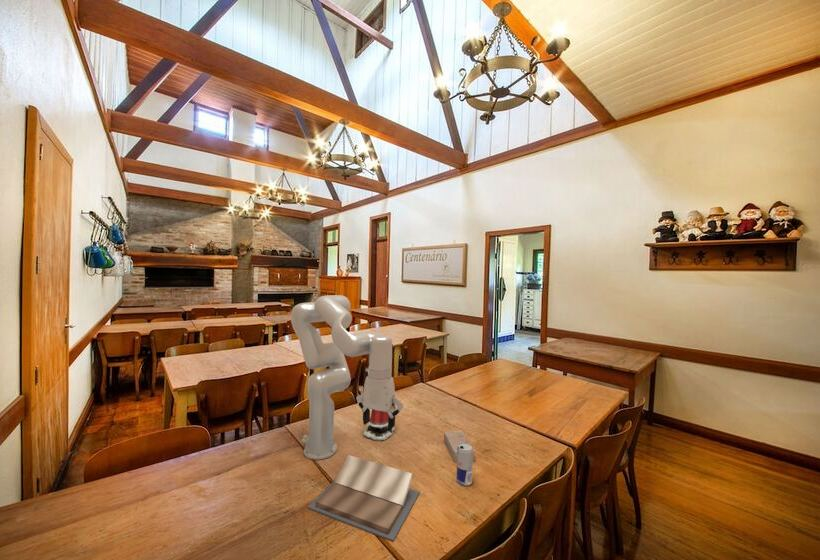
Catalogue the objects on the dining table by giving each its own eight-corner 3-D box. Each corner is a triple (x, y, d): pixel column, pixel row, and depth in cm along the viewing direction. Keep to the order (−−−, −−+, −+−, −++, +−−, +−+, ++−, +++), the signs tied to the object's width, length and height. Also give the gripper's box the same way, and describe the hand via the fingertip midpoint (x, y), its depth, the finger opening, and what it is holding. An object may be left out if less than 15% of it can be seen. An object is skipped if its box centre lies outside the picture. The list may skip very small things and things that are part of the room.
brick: (475, 463, 116) (476, 450, 116) (454, 464, 115) (454, 451, 115) (461, 440, 132) (461, 429, 132) (442, 441, 131) (443, 430, 131)
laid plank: (315, 506, 90) (315, 501, 90) (333, 487, 98) (334, 483, 98) (388, 534, 81) (388, 528, 81) (401, 511, 89) (401, 506, 89)
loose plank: (336, 484, 99) (334, 482, 99) (349, 457, 106) (347, 454, 105) (403, 507, 90) (402, 505, 90) (412, 475, 97) (412, 473, 96)
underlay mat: (307, 508, 90) (307, 506, 90) (346, 470, 108) (346, 468, 108) (393, 541, 79) (393, 539, 79) (419, 493, 98) (419, 491, 98)
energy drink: (454, 476, 107) (455, 442, 107) (469, 476, 107) (470, 442, 107) (458, 486, 102) (459, 450, 102) (474, 486, 102) (475, 450, 102)
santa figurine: (380, 420, 148) (382, 369, 148) (403, 429, 140) (405, 375, 139) (355, 434, 134) (357, 378, 134) (379, 445, 126) (381, 385, 126)
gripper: (351, 372, 100) (349, 425, 100) (399, 380, 93) (397, 436, 93) (363, 366, 107) (361, 416, 107) (408, 373, 100) (407, 426, 100)
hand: (378, 425), depth 100 cm, fingers open, 8 cm apart
